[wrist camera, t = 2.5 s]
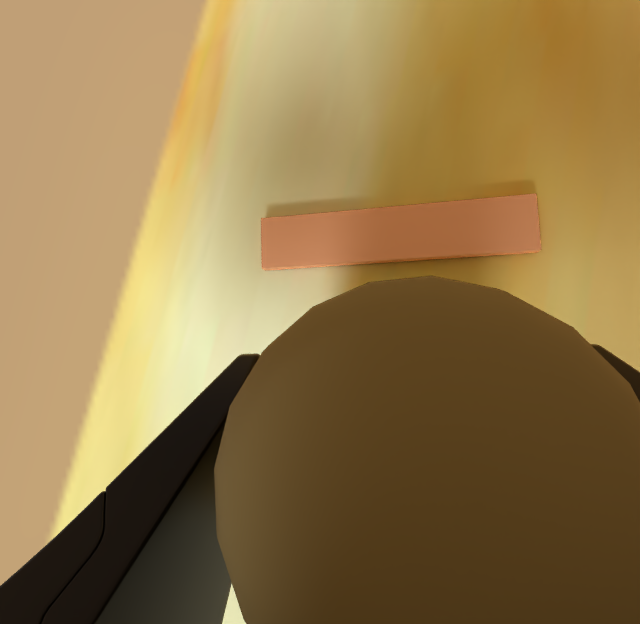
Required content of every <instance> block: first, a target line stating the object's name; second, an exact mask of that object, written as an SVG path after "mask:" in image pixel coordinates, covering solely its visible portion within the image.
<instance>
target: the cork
mask: <svg viewBox="0 0 640 624" xmlns="http://www.w3.org/2000/svg"><path fill="white" fill-rule="evenodd" d="M214 480H215V505H216V530H217V539H218V542H219V545H220V548H221V551H222V554H223V557H224V560H225V563H226V567H227V570H228V573H229V576H230V579H231V582H232V585H233V588H234V591H235V594H236V597H237V600H238V603H239V606H240V609H241V612H242V615H243V618H244V620H245V622H246V623H247V624H640V402H639V400H638V398H637V396H636V394H635V392H634V391H633V389H632V387H631V385H630V383H629V382H628V381H627V380H626V379H625V378H624V377H623V376H622V375H621V374H620V373H619V372H618V371H617V370H616V369H615V368H614V367H613V366H612V365H611V364H610V363H609V362H608V361H606V360H605V359H604V358H603V357H602V356H601V355H600V354H599V353H598V352H597V351H596V350H595V349H594V348H593V347H592V346H591V345H590V344H589V343H588V342H587V341H586V340H585V339H584V338H583V337H582V336H581V335H580V334H579V333H578V332H577V331H576V330H575V329H574V328H573V327H571V326H569V325H568V324H566V323H564V322H562V321H560V320H558V319H556V318H554V317H553V316H551V315H549V314H547V313H545V312H543V311H541V310H539V309H538V308H536V307H534V306H532V305H530V304H528V303H526V302H524V301H523V300H521V299H519V298H517V297H515V296H513V295H511V294H509V293H507V292H505V291H502V290H499V289H496V288H491V287H485V286H480V285H475V284H470V283H465V282H460V281H455V280H450V279H445V278H440V277H435V276H426V277H416V278H406V279H397V280H387V281H378V282H369V283H366V284H364V285H362V286H359V287H357V288H355V289H352V290H350V291H348V292H346V293H343V294H341V295H339V296H336V297H334V298H332V299H329V300H327V301H325V302H323V303H320V304H318V305H316V306H313V307H312V308H311V309H310V310H309V311H307V312H306V313H305V314H304V315H303V316H302V317H301V318H299V319H298V320H297V321H296V322H295V323H294V324H293V325H291V326H290V327H289V328H288V329H287V330H286V331H285V332H284V333H282V334H281V335H280V336H279V337H278V338H277V339H276V340H274V341H273V342H272V343H271V344H270V345H269V346H268V347H267V348H266V349H265V350H264V351H263V352H262V354H261V355H260V357H259V359H258V360H257V362H256V364H255V365H254V367H253V369H252V370H251V372H250V374H249V375H248V377H247V379H246V380H245V382H244V383H243V385H242V387H241V388H240V390H239V392H238V393H237V395H236V397H235V398H234V400H233V402H232V403H231V405H230V407H229V411H228V415H227V419H226V423H225V427H224V431H223V435H222V439H221V443H220V447H219V451H218V455H217V459H216V463H215V467H214Z"/></svg>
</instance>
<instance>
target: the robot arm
mask: <svg viewBox="0 0 640 624" xmlns="http://www.w3.org/2000/svg"><path fill="white" fill-rule="evenodd" d="M590 345H591V346H592V347H593V348H594V349H595V350H596V351H597V352H598V353H599V354H600V355H601V356H602V357H603V358H604V359H605V360H606V361H608V362H609V363H610V364H611V365H612V366H613V367H614V368H615V369H616V370H617V371H618V372H619V373H620V374H621V375H622V376H623V377H624V378H625V379H626V380H627V381H628V382H629V383H630V385H631V387H632V389H633V391H634V392H635V394H636V396H637V398H638V400H639V402H640V372H639V371H637V370H636V369H634V368H633V367H631V366H630V365H628V364H627V363H625V362H624V361H622V360H621V359H619V358H618V357H616V356H615V355H613V354H612V353H610V352H609V351H607V350H606V349H604V348H603V347H601V346H599V345H595V344H590ZM259 357H260V355H259V354H241V355H239V356H238V357H237V358H236V359H235V360H234V361H233V362H232V363H231V364H230V365H229V366H228V367H227V368H226V369H225V370H224V371H223V372H222V373H221V374H220V375H219V376H218V377H217V378H216V379H215V380H214V381H213V382H212V383H211V384H210V385H209V386H208V387H207V388H206V389H205V390H204V391H203V392H202V393H201V394H200V395H199V396H198V397H197V398H196V399H195V400H194V401H193V402H192V403H191V404H190V405H189V406H188V407H187V408H186V409H185V410H184V411H183V412H182V413H181V414H180V415H179V416H178V417H177V418H176V419H175V420H174V421H173V422H172V423H171V424H170V425H169V426H168V427H167V428H166V429H165V430H164V431H163V432H162V433H161V434H160V435H159V436H158V437H157V438H155V439H154V440H153V441H152V442H151V443H150V444H149V445H148V446H147V447H146V448H145V449H144V450H143V451H142V452H141V453H140V454H139V455H138V456H137V457H136V458H135V459H134V460H133V461H132V462H131V463H130V464H129V465H128V466H127V467H126V468H125V469H124V470H123V471H122V472H121V473H120V474H119V475H118V476H117V477H116V478H115V479H114V480H113V481H112V482H111V483H110V484H109V485H108V486H107V487H106V492H105V491H103V492H101V493H100V494H99V495H98V496H97V497H96V498H95V499H94V500H93V501H92V502H91V503H90V504H89V505H88V506H87V507H86V508H85V509H84V510H83V511H82V512H81V513H80V514H79V515H78V516H77V517H76V518H75V519H74V520H72V521H71V522H70V523H69V524H68V525H67V526H66V527H65V528H64V529H63V530H62V531H61V532H60V533H59V534H58V535H57V536H56V537H55V538H54V539H53V540H51V541H50V542H49V543H48V544H47V545H46V546H45V547H44V548H43V549H41V550H40V551H39V552H38V553H37V554H36V555H35V556H34V557H33V558H31V559H30V560H29V561H28V562H27V563H26V564H25V565H24V566H23V567H22V568H20V569H19V570H18V571H17V572H16V573H15V574H13V575H12V576H11V577H10V578H9V579H8V580H7V581H6V582H4V583H3V584H2V585H1V586H0V624H222V621H223V617H224V613H225V608H226V604H227V600H228V596H229V592H230V588H231V583H232V582H231V579H230V576H229V573H228V570H227V567H226V563H225V560H224V557H223V554H222V551H221V548H220V545H219V542H218V539H217V530H216V505H215V480H214V467H215V463H216V459H217V455H218V451H219V447H220V443H221V439H222V435H223V431H224V427H225V423H226V419H227V415H228V411H229V407H230V405H231V403H232V402H233V400H234V398H235V397H236V395H237V393H238V392H239V390H240V388H241V387H242V385H243V383H244V382H245V380H246V379H247V377H248V375H249V374H250V372H251V370H252V369H253V367H254V365H255V364H256V362H257V360H258V359H259Z"/></svg>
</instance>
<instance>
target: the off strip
mask: <svg viewBox="0 0 640 624" xmlns="http://www.w3.org/2000/svg"><path fill="white" fill-rule="evenodd" d="M261 242H262V269H264V270H280V269H295V268H310V267H325V266H340V265H355V264H371V263H386V262H401V261H416V260H431V259H446V258H461V257H476V256H491V255H506V254H522V253H537V252H539V251H540V250H542V249H541V238H540V227H539V216H538V205H537V194H525V195H514V196H503V197H492V198H481V199H470V200H459V201H447V202H436V203H425V204H414V205H403V206H392V207H381V208H370V209H359V210H347V211H336V212H325V213H314V214H303V215H292V216H281V217H270V218H261Z"/></svg>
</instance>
